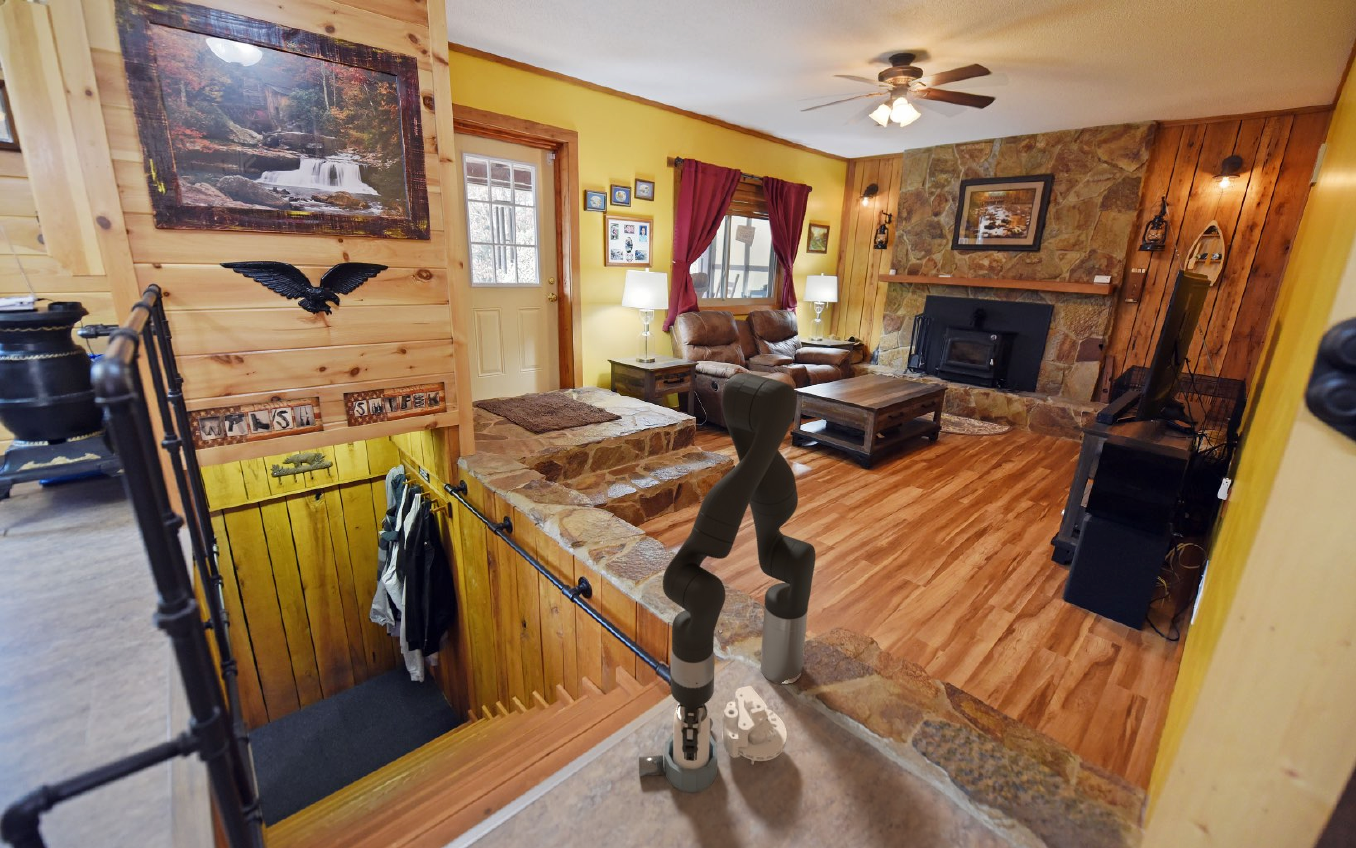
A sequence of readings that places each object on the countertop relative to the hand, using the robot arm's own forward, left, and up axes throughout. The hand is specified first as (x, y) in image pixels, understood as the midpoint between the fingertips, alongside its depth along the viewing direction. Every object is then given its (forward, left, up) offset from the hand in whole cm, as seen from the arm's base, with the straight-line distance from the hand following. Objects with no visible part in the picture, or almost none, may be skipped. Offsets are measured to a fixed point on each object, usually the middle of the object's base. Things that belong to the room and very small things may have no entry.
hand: (691, 743), depth 100 cm
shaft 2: (-7, +2, -6) cm, 9 cm away
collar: (0, 0, -6) cm, 6 cm away
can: (0, 0, -4) cm, 4 cm away
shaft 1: (+1, -7, -6) cm, 10 cm away
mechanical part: (-5, +12, -6) cm, 14 cm away
